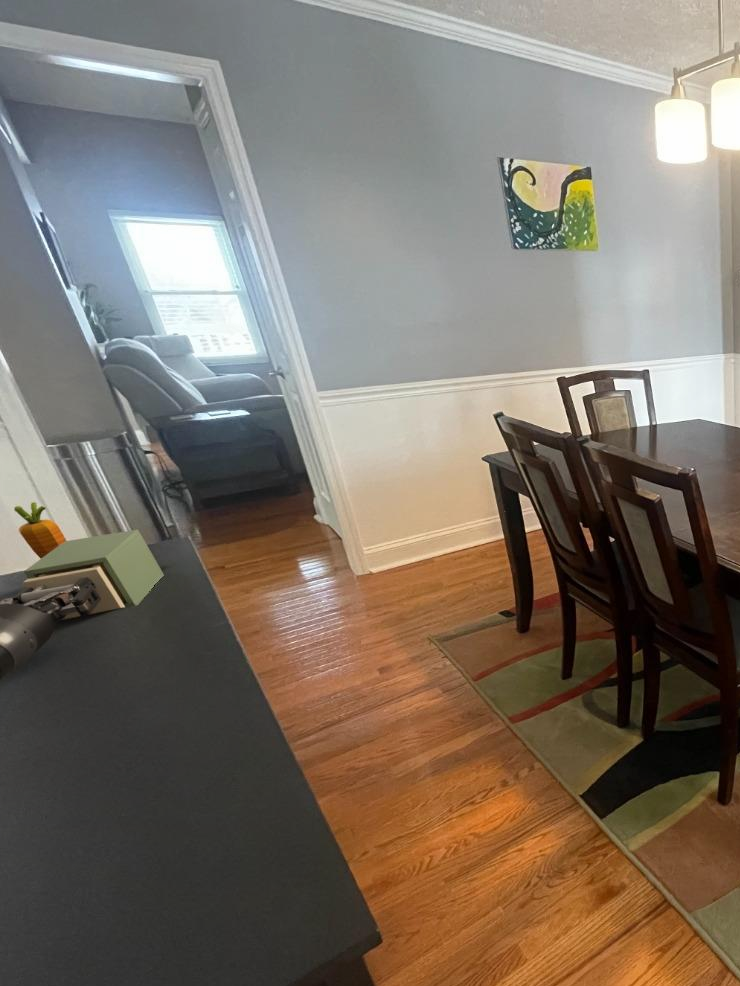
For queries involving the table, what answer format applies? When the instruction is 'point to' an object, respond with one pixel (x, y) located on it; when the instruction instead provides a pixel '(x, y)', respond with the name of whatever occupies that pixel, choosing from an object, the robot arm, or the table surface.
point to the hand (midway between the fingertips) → (60, 588)
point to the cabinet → (108, 562)
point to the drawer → (69, 577)
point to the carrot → (39, 531)
